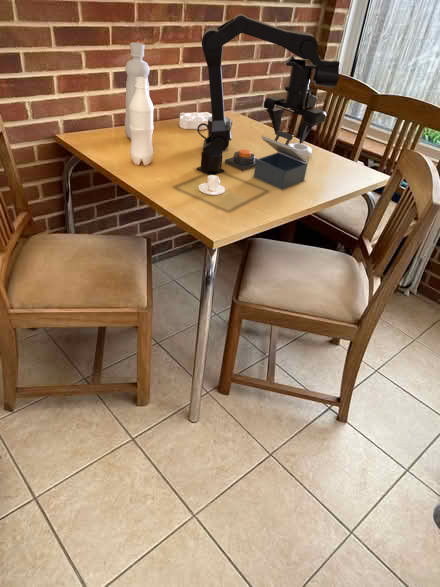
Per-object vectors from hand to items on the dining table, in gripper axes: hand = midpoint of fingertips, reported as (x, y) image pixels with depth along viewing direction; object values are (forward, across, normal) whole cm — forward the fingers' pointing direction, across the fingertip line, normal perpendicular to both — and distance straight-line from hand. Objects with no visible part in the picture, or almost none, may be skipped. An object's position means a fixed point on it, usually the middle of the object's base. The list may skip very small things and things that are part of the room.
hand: (288, 138), depth 138 cm
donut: (+13, +9, -22) cm, 27 cm away
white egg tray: (+13, +52, -14) cm, 56 cm away
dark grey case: (+13, 0, +1) cm, 13 cm away
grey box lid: (+4, 0, +1) cm, 4 cm away
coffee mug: (+13, +31, -1) cm, 34 cm away
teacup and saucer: (+13, +6, +22) cm, 26 cm away
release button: (+10, +15, +1) cm, 18 cm away
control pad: (+13, +15, +1) cm, 20 cm away
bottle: (+13, +52, +16) cm, 56 cm away
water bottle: (+13, +34, +29) cm, 47 cm away
